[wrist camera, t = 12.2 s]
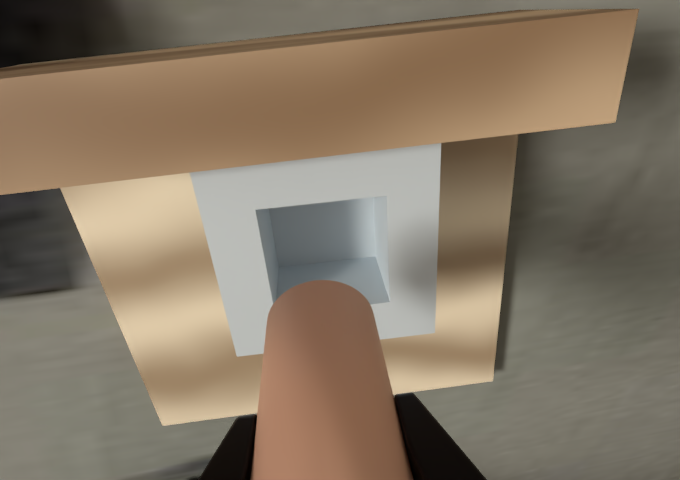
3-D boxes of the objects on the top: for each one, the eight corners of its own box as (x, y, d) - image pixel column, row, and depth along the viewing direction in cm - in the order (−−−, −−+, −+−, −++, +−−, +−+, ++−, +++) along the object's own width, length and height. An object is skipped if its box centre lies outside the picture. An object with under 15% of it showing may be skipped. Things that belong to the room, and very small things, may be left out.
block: (407, 268, 22) (435, 333, 17) (249, 286, 21) (236, 356, 17) (406, 106, 18) (441, 137, 14) (214, 125, 18) (187, 163, 13)
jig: (486, 369, 27) (542, 474, 21) (167, 411, 26) (127, 533, 20) (519, 10, 18) (639, 8, 11) (23, 64, 17) (-135, 93, 11)
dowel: (377, 357, 13) (502, 922, 5) (277, 370, 13) (239, 965, 5) (370, 273, 11) (532, 882, 3) (257, 288, 11) (157, 944, 3)
